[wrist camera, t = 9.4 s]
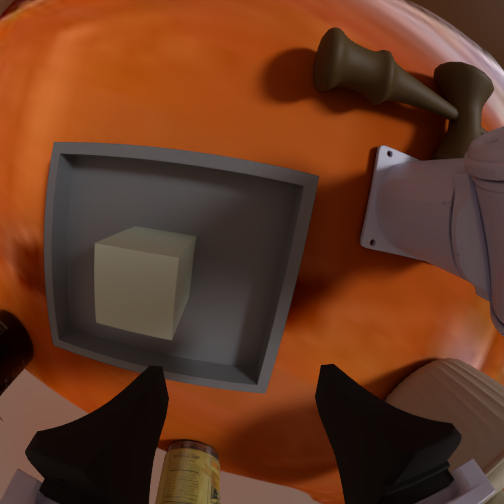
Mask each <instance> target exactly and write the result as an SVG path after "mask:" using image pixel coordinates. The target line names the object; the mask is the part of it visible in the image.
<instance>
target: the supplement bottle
mask: <svg viewBox="0 0 504 504" xmlns="http://www.w3.org/2000/svg"><path fill="white" fill-rule="evenodd" d="M32 357H33V348H32V343H31V340H30V338H29V336H28V334H27V332H26V330H25V328H24V327H23V325H22V324H21V323H20V321H19V320H18V319H17V318H16V317H15V316H13V315H12V314H11V313H9V312H7V311H3V310H1V311H0V396H1V395H2V393H3V392H4V391H5V390H6V389H7V388H8V386H9V385H10V384H11V383H12V382H13V381H14V380H15V378H16V377H17V376H18V375H19V374H20V373H21V372H22V371H23V370H24V368H25V367H26V366H27V365H28V364H29V363H30V361H31V360H32Z"/></svg>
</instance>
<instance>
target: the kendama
mask: <svg viewBox="0 0 504 504" xmlns="http://www.w3.org/2000/svg"><path fill="white" fill-rule="evenodd" d="M434 79H435V81H436V83H437V84H438V86H439V87H440V89H441V91H442V92H443V94H444V96H445V98H446V100H447V101H446V100H444V99H443V98H442V97H440V96H439V95H437V94H436V93H435V92H433V91H432V90H431V89H429V88H428V87H427V86H425V85H424V84H422V83H421V82H420V81H418V80H417V79H415V78H414V77H413V76H411V75H410V74H409V73H407V72H406V71H405V70H403V69H402V68H401V67H400V66H399V65H398V64H397V63H396V62H395V61H394V59H393V56H392V54H391V52H389V51H386V50H381V51H376V52H375V51H371V50H368V49H366V48H364V47H362V46H360V45H358V44H356V43H354V42H353V41H351V40H350V39H349V38H348V37H347V36H346V35H345V34H344V32H343V31H342V30H341V29H339V28H331V29H329V30H328V31H327V32H326V33H325V35H324V36H323V37H322V39H321V42H320V44H319V47H318V50H317V53H316V58H315V63H314V68H313V80H314V86H315V87H316V89H317V90H318V91H319V92H326V91H328V90H329V89H331V88H334V87H343V88H347V89H351V90H354V91H357V92H359V93H361V94H362V95H364V97H365V98H366V100H367V101H369V102H370V103H371V104H372V105H376V104H380V103H381V102H383V101H385V100H388V101H396V102H401V103H405V104H408V105H412V106H415V107H418V108H421V109H424V110H427V111H430V112H432V113H435V114H437V115H440V116H442V117H444V118H446V119H449V126H448V131H447V134H446V136H445V138H444V140H443V142H442V143H441V144H440V146H439V147H438V149H437V150H436V152H435V153H434V155H433V157H432V160H440V159H456V158H464V156H465V154H466V152H467V151H468V149H469V146H470V144H471V142H472V141H473V140H474V139H476V138H477V137H479V136H481V135H483V134H485V133H487V131H486V130H485V129H483V128H482V127H481V116H482V114H481V112H482V108H483V106H484V104H485V103H486V101H487V100H488V98H489V97H490V96H491V94H492V93H493V91H494V87H493V84H492V81H491V79H490V78H489V77H488V76H487V75H486V74H485V73H484V72H483V71H481V70H479V69H478V68H476V67H474V66H472V65H469V64H466V63H463V62H447V63H444V64H440V65H439V66H438V67H437V68H436V69H435V71H434Z"/></svg>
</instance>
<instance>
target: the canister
mask: <svg viewBox="0 0 504 504" xmlns="http://www.w3.org/2000/svg"><path fill="white" fill-rule="evenodd" d="M384 402H386V403H388V404H390V405H392V406H394V407H396V408H398V409H401V410H403V411H405V412H408V413H411V414H413V415H416V416H419V417H423V418H427V419H431V420H435V421H441V422H448V423H452V424H453V425H454V426H455V428H456V429H457V430H458V431H459V433H460V434H461V435H462V439H461V442H460V444H459V446H458V447H457V449H456V450H455V451H454V453H453V454H452V455H451V456H450V458H449V459H448V460H447V461H448V462H449V464H450V467H449V468H448V470H449V472H450V473H451V472H452V471H453V470H454V469H456V468H457V467H459V466H461V465H462V464H464V463H466V462H467V461H469V460H470V459H474V460H475V462H476V463H477V464H478V466H479V467H480V469H481V470H482V471H483V473H484V474H485V476H486V477H487V478H488V480H489V481H490V483H491V484H492V485H493V487H494V488H495V492H494V493H493V494H492V495H491V496H490V497H488V498H487V499H486V500H485V501H484V502H483V503H481V504H504V491H501V490H502V489H503V488H504V386H503V385H501V384H500V383H498V382H497V381H495V380H494V379H492V378H491V377H489V376H487V375H486V374H484V373H482V372H481V371H479V370H477V369H476V368H474V367H472V366H471V365H469V364H467V363H465V362H463V361H461V360H458V359H451V358H445V359H438V360H437V361H432V362H431V363H428V364H425V365H424V366H423V367H420V368H418V369H417V370H416V371H415V372H412V373H411V374H410V375H409V376H408V377H406V378H405V379H404V380H403V381H402V382H401V383H399V384H398V386H397V387H396V388H395V389H393V391H392V392H391V394H389V395H388V396H387V399H386V400H385V401H384Z"/></svg>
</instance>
